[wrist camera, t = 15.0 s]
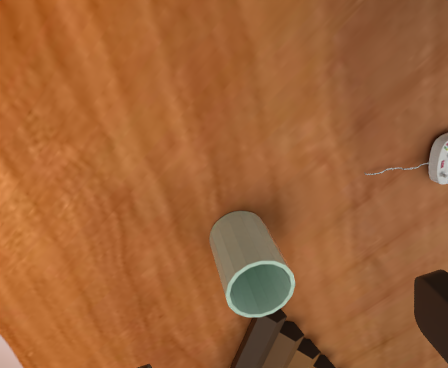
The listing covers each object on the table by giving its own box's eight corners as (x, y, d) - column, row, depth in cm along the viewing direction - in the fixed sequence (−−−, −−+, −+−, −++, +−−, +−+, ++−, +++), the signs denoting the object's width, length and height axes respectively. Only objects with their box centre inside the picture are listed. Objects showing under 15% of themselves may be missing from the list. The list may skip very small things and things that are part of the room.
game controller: (465, 164, 46) (483, 174, 44) (375, 210, 46) (388, 222, 44) (458, 122, 43) (476, 130, 41) (363, 172, 44) (376, 182, 41)
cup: (260, 203, 43) (289, 251, 35) (270, 250, 46) (299, 304, 38) (203, 220, 42) (218, 273, 34) (216, 267, 45) (234, 326, 37)
